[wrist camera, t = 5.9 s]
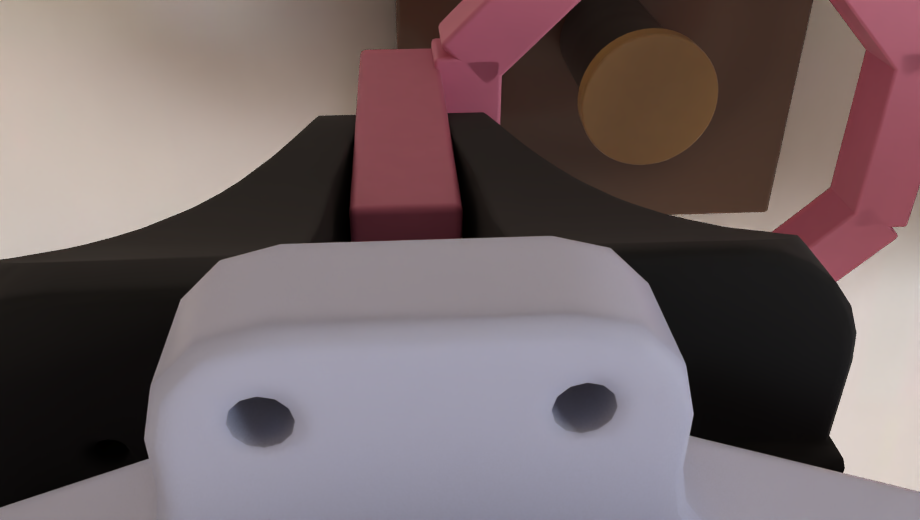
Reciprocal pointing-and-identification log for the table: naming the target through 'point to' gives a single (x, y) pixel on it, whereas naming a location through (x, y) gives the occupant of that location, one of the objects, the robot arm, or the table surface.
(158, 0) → the table surface
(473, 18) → the pink octagonal frame
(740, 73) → the stand
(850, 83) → the table surface
